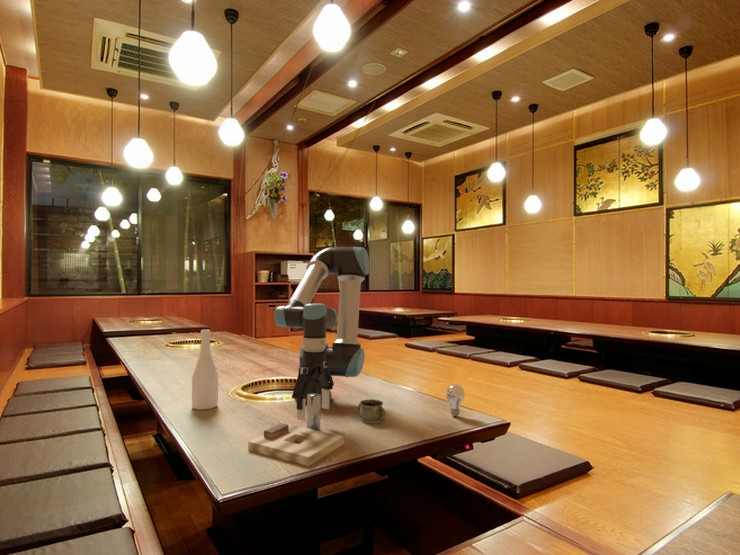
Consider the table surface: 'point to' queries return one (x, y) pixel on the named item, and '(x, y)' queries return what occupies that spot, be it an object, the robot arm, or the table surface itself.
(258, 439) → the jig
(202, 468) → the table surface
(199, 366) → the wine bottle
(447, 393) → the light bulb
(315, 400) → the shiny metal cylinder
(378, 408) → the vessel
